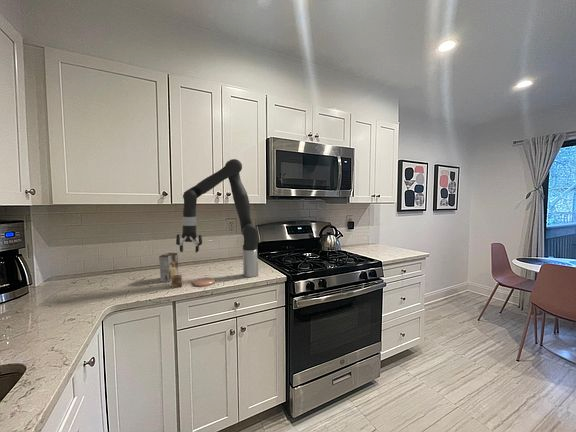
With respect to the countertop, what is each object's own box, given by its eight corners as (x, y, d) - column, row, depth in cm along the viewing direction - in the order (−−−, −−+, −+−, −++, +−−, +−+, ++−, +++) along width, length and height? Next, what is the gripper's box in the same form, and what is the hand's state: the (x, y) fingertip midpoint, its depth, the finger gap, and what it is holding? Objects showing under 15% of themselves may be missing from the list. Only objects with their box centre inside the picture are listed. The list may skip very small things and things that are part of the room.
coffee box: (170, 276, 165) (168, 252, 163) (178, 277, 163) (177, 252, 162) (160, 281, 156) (159, 255, 154) (169, 282, 154) (168, 256, 153)
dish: (213, 278, 160) (213, 276, 160) (215, 285, 149) (215, 282, 149) (193, 281, 156) (193, 278, 156) (193, 287, 145) (193, 285, 145)
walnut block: (181, 284, 150) (181, 274, 150) (181, 287, 146) (181, 277, 145) (172, 285, 149) (172, 275, 148) (171, 288, 144) (171, 278, 144)
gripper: (203, 224, 152) (203, 251, 153) (179, 223, 152) (179, 250, 152) (199, 225, 145) (199, 253, 146) (174, 224, 144) (174, 253, 145)
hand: (189, 252), depth 149 cm, fingers open, 8 cm apart
